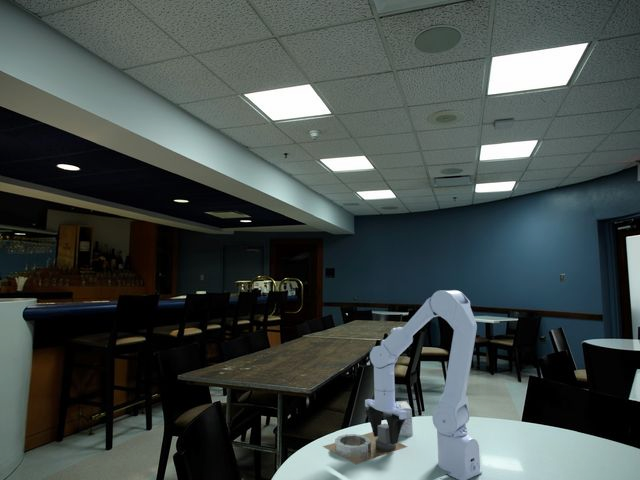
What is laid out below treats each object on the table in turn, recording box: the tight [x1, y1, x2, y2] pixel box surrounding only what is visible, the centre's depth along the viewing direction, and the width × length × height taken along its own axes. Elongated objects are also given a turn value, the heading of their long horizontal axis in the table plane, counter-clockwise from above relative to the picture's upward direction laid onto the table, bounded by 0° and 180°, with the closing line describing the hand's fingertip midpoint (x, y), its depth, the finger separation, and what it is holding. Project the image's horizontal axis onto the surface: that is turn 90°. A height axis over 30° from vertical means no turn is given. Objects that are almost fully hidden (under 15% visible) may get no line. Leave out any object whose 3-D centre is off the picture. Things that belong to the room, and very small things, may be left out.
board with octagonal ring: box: [322, 431, 408, 465], centre depth 111 cm, size 14×19×3 cm
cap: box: [375, 423, 396, 451], centre depth 111 cm, size 6×6×6 cm
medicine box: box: [395, 400, 414, 437], centre depth 123 cm, size 8×4×9 cm, turn 179°
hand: (385, 439), depth 111 cm, fingers open, 6 cm apart
